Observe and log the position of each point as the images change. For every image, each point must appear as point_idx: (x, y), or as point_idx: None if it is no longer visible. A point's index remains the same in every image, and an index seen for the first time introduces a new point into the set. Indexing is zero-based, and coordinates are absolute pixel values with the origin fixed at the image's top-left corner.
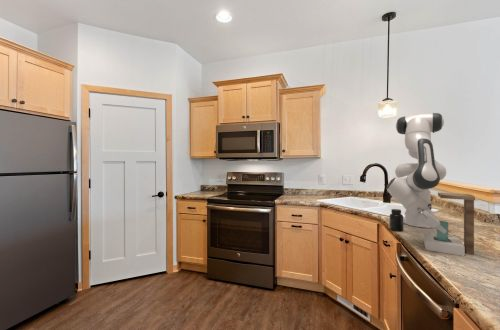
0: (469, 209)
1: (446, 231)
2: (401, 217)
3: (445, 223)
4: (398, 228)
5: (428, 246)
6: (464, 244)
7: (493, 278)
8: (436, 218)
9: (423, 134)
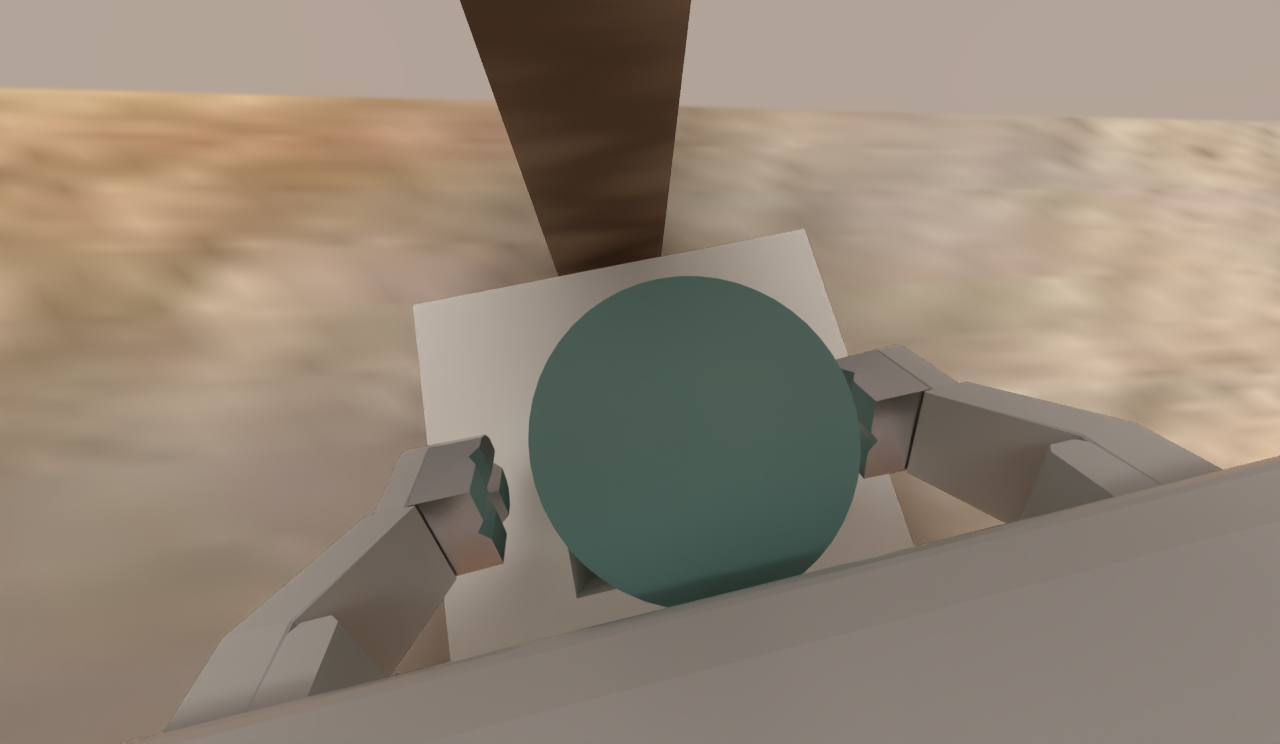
0: None
1: (893, 354)
2: None
3: (807, 335)
4: None
5: None
6: (581, 254)
7: (1153, 126)
8: (1193, 637)
9: None
